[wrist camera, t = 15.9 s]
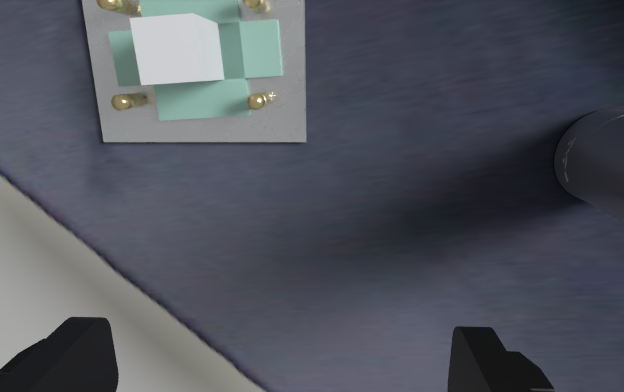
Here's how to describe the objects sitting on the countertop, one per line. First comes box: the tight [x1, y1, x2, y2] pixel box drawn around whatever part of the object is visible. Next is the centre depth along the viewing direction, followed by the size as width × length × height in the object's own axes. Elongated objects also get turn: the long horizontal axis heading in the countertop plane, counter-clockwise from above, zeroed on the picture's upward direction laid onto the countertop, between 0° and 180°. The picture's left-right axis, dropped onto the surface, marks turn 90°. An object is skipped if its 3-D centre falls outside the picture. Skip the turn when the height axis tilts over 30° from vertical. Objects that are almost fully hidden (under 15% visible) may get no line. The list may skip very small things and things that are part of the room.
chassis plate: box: [82, 0, 307, 142], centre depth 38 cm, size 21×17×5 cm
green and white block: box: [108, 0, 282, 121], centre depth 36 cm, size 16×12×8 cm
